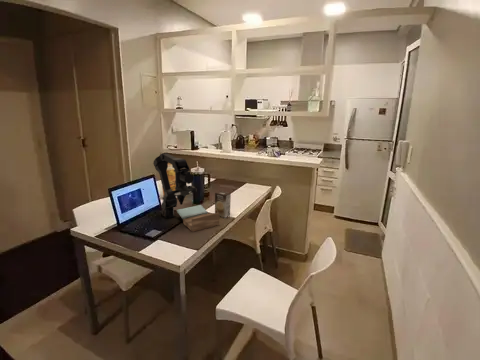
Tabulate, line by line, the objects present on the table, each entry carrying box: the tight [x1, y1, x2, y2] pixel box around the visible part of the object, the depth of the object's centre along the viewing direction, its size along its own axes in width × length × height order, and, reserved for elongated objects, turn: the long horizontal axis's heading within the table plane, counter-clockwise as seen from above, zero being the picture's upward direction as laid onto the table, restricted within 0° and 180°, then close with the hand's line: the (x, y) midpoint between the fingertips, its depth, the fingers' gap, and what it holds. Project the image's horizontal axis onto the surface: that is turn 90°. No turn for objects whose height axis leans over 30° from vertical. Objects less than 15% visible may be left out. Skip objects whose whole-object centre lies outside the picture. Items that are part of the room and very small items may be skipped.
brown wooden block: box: [182, 212, 220, 232], centre depth 168 cm, size 14×18×8 cm
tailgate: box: [176, 204, 208, 220], centre depth 178 cm, size 2×18×10 cm
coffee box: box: [214, 190, 232, 219], centre depth 182 cm, size 9×6×16 cm
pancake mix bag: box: [159, 163, 176, 198], centre depth 213 cm, size 7×19×28 cm, turn 147°
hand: (181, 204), depth 165 cm, fingers closed
